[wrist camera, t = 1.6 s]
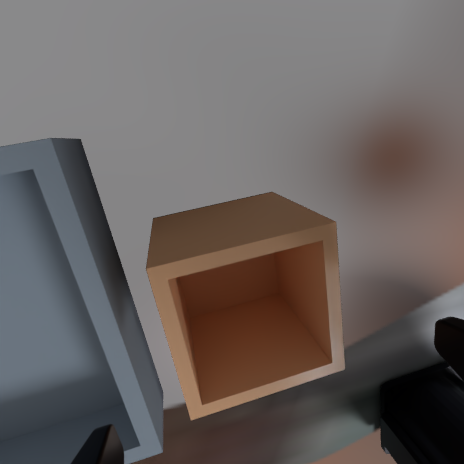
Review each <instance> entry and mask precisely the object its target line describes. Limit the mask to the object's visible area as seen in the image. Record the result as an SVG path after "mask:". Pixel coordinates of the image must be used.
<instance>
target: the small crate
mask: <svg viewBox="0 0 464 464" xmlns="http://www.w3.org/2000/svg"><path fill="white" fill-rule="evenodd" d="M337 245H338V244H337V228H336V222H335V221H333V220H331V219H329V218H327V217H325V216H322V215H320V214H318V213H316V212H314V211H312V210H310V209H307V208H306V207H303V206H301V205H299V204H297V203H295V202H293V201H291V200H289V199H286V198H284V197H282V196H280V195H278V194H276V193H273V192H269V193H264V194H259V195H255V196H250V197H246V198H241V199H237V200H232V201H228V202H223V203H219V204H214V205H210V206H205V207H201V208H197V209H192V210H187V211H183V212H178V213H174V214H169V215H165V216H161V217H156V218H153V223H152V230H151V237H150V244H149V251H148V259H147V266H146V271H147V274H148V277H149V281H150V284H151V288H152V291H153V294H154V298H155V301H156V304H157V308H158V311H159V314H160V317H161V321H162V324H163V328H164V331H165V334H166V338H167V341H168V344H169V348H170V351H171V355H172V358H173V361H174V365H175V368H176V371H177V374H178V378H179V381H180V384H181V388H182V391H183V395H184V398H185V401H186V405H187V408H188V411H189V415H190V418H191V420H194V419H197V418H200V417H203V416H206V415H209V414H212V413H215V412H218V411H221V410H224V409H227V408H230V407H233V406H236V405H239V404H242V403H245V402H248V401H251V400H254V399H257V398H260V397H263V396H266V395H269V394H273V393H276V392H279V391H282V390H285V389H288V388H291V387H294V386H297V385H300V384H303V383H306V382H309V381H312V380H315V379H318V378H321V377H324V376H327V375H330V374H333V373H336V372H339V371H342V370H345V358H344V342H343V325H342V311H341V310H342V309H341V293H340V276H339V262H338V246H337Z"/></svg>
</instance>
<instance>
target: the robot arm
mask: <svg viewBox="0 0 464 464" xmlns="http://www.w3.org/2000/svg"><path fill="white" fill-rule="evenodd" d="M434 345H435V348H436V350H437V352H438V353H439V354H440V355H441V356H442V358H443V359H444V360H445V361H446V362H445V363H442V364H439V365H436V366H433V367H430V368H427V369H424V370H421V371H419V372H416V373H413V374H410V375H407V376H404V377H401V378H398V379H395V380H392V381H390V382H387V383H385V384H383V385H382V387H381V389H380V402H381V417H380V422H381V447H382V449H383V450H384V451H385V453H386V454H391V456H392V457H393V459H394V460H395V461H396V463H397V464H464V320H463V319H459V318H455V317H446V318H443V319H440V320H438V321H437V322H436V323H435V337H434ZM70 464H124V449H123V446H122V443H121V441H120V438H119V436H118V434H117V431H116V429H115V427H114V425H113V424H107V425H104V426H101V427H98V428H96V429H94V430H93V431H92V433H91V434H90V435H89V437H88V438H87V440H86V441H85V443H84V444H83V446H82V447H81V449H80V450H79V452H78V453H77V455H76V456H75V457H74V459H73V460H72V462H71V463H70Z"/></svg>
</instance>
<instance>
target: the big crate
mask: <svg viewBox="0 0 464 464" xmlns="http://www.w3.org/2000/svg"><path fill="white" fill-rule="evenodd" d="M107 424H113V425H114V427H115V429H116V431H117V434H118V436H119V438H120V441H121V443H122V446H123V449H124V464H130V463H133V462H136V461H139V460H141V459H144V458H147V457H150V456H153V455H156V454H159V453H162V452H163V390H162V387H161V384H160V381H159V378H158V375H157V372H156V369H155V366H154V363H153V360H152V356H151V353H150V351H149V347H148V344H147V341H146V338H145V335H144V332H143V329H142V326H141V323H140V320H139V317H138V314H137V310H136V307H135V304H134V301H133V298H132V295H131V292H130V289H129V286H128V283H127V280H126V277H125V274H124V271H123V268H122V264H121V261H120V258H119V255H118V252H117V249H116V246H115V243H114V240H113V237H112V234H111V231H110V228H109V225H108V222H107V219H106V216H105V213H104V209H103V206H102V203H101V201H100V197H99V194H98V191H97V188H96V185H95V182H94V179H93V176H92V173H91V170H90V167H89V164H88V160H87V157H86V154H85V151H84V148H83V145H82V142H81V139H65V138H48V139H42V140H37V141H31V142H26V143H19V144H14V145H8V146H2V147H0V464H70V463H71V462H72V460H73V459H74V457H75V456H76V455H77V453H78V452H79V450H80V449H81V447H82V446H83V444H84V443H85V441H86V440H87V438H88V437H89V435H90V434H91V433H92V431H93V430H94V429H96V428H98V427H101V426H104V425H107Z"/></svg>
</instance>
